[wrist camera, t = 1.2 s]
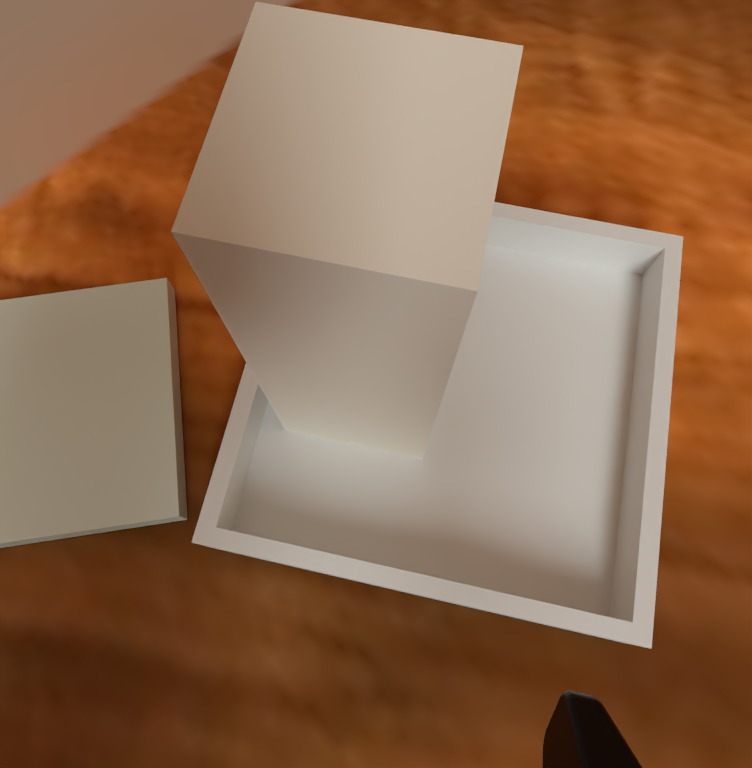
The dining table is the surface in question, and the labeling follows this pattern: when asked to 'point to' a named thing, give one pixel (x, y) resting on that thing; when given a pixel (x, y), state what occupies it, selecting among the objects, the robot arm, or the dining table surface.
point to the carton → (349, 214)
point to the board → (90, 412)
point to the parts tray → (495, 446)
